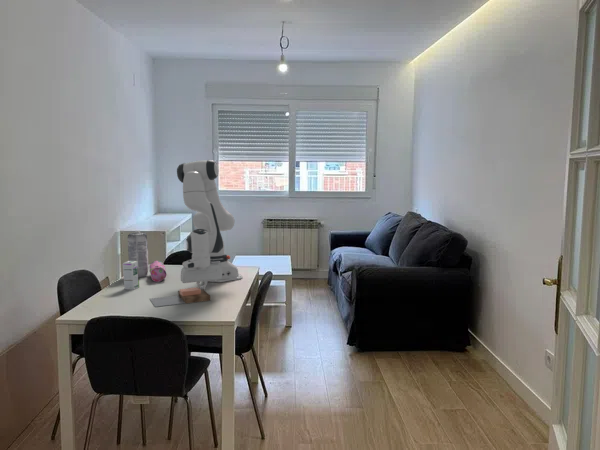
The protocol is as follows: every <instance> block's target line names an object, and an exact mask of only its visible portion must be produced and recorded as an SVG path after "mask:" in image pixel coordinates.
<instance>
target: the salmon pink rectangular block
mask: <svg viewBox="0 0 600 450" xmlns="http://www.w3.org/2000/svg"><path fill="white" fill-rule="evenodd" d="M179 291H180V294H181V295H182V296H187V295H196V294H201V290H200V289H199V286H197V287H190V288H189V287H188V288H180V289H179Z"/></svg>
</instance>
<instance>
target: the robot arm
mask: <svg viewBox="0 0 600 450" xmlns="http://www.w3.org/2000/svg"><path fill="white" fill-rule="evenodd" d="M176 174H177V175H176V176H177V178H178V180H179V182H181V183H183V184H182V197H183V203H184V206H186V207H187V208H188V209H189V210H192V211H193V212H196V213H195V214H194V215H193V218H192V224H193V227H195V228H196V229H194V230H193V231H192V232H191V234H190V235H189V236H188V237H187V238H186V240H185V242H186V250H187V251H188V252H189V253H190V254H191V259H187V260H186V261H183V262H182V266H183V267H182V269H181V271H180V281H181V283H182V284H189V283H196V285H197V287H198V288H199V289H200V290H204V291H205V290H206V286H207V285H208V282H209V283H210V282H211V283H224V282H231V281H237V280H242V279H243V275H242V274H240V273H239V270H238V269H239V268H238V266H236V265H235V264H234V263H232V262H230V261H229V260H230V259H231V256H230V255H229V254H228V255H227V254H225V241H224V239H223V237H222V233H221V232H227V231H230V230H233V228H234V226H235V217H234V215H233V213H231V212H229V211H228V210H227V209H226V208H225V207H224V205H223V203H222V202H221V199H220V197H219V192H218V187H217V183H216V180H215V179H217V177H218V176H219V166H218V164H217V162H216V161H215V160H212V159H207V160H196V161H191V162H187V163H186V162H183V163H181V164H179V165H178V167H177V168H176ZM201 282H203V285H201Z"/></svg>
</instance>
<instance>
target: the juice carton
mask: <svg viewBox="0 0 600 450" xmlns="http://www.w3.org/2000/svg"><path fill="white" fill-rule="evenodd" d="M147 236H148V234H147V232H141V230H135V231H134V232H130V233H129V234H127V251H128V252H127V254H128V261H138V275H139V278H146V277H147V276H148V273H149V249H148V237H147Z"/></svg>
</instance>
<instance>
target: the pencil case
mask: <svg viewBox="0 0 600 450" xmlns="http://www.w3.org/2000/svg"><path fill="white" fill-rule="evenodd" d="M148 269H149V274H150V277H151V280H152V281H153V282H156V283H158V282H159V283H160V282H162V281H164V280H165V279H166V277H167V276H168V275H167V270H166V267H165V264H164V262H162V261H160V260H154V261H153V262H151V263H150V264H149V265H148Z"/></svg>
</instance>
